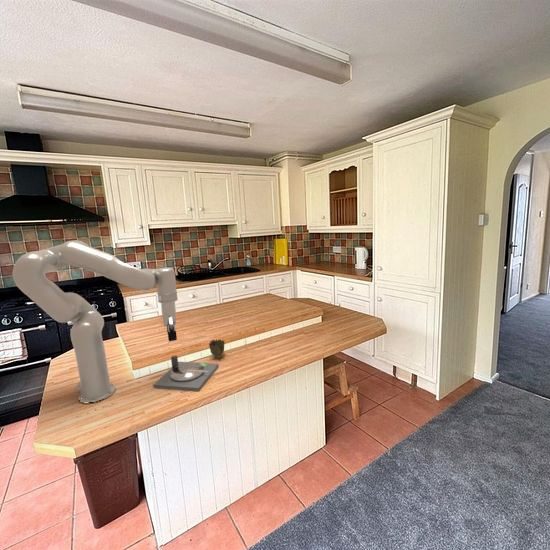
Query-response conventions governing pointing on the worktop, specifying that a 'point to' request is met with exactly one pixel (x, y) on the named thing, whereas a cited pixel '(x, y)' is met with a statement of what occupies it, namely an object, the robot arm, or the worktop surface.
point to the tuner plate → (191, 385)
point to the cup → (217, 348)
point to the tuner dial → (185, 370)
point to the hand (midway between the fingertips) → (172, 336)
